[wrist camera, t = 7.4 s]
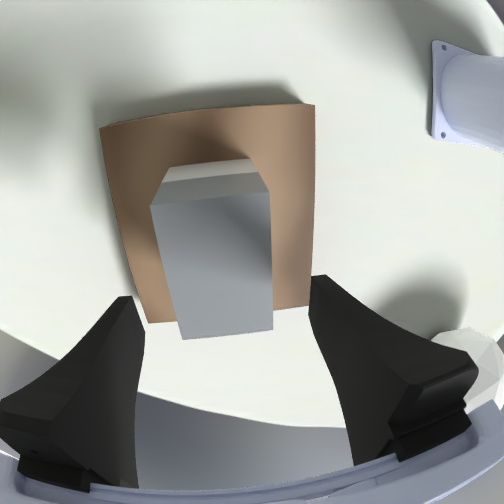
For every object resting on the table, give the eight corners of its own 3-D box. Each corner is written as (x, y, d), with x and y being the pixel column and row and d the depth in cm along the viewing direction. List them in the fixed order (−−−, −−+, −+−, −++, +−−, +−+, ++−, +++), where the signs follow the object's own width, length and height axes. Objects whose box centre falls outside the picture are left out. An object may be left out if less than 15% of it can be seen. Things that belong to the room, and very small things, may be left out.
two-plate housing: (250, 158, 16) (269, 192, 11) (256, 265, 20) (273, 329, 15) (169, 167, 16) (149, 205, 11) (187, 273, 20) (182, 339, 14)
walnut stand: (304, 103, 17) (314, 105, 15) (302, 289, 24) (308, 305, 22) (110, 124, 16) (99, 128, 14) (151, 306, 23) (148, 323, 21)
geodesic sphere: (401, 438, 33) (484, 465, 21) (352, 428, 27) (467, 472, 15) (440, 344, 37) (524, 355, 25) (405, 305, 31) (519, 314, 19)
